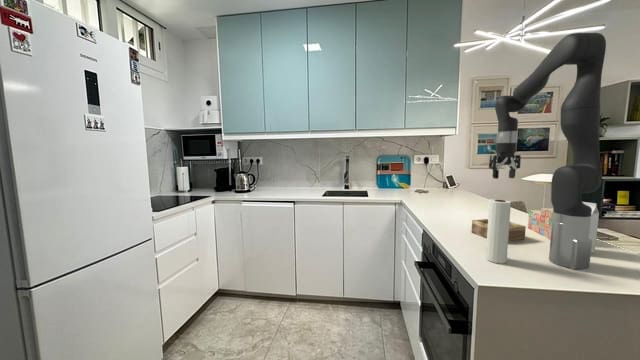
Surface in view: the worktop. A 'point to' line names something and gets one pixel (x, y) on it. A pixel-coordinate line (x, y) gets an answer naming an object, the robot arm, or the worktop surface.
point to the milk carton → (593, 224)
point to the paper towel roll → (498, 230)
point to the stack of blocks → (541, 221)
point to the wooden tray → (514, 230)
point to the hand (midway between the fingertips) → (503, 178)
